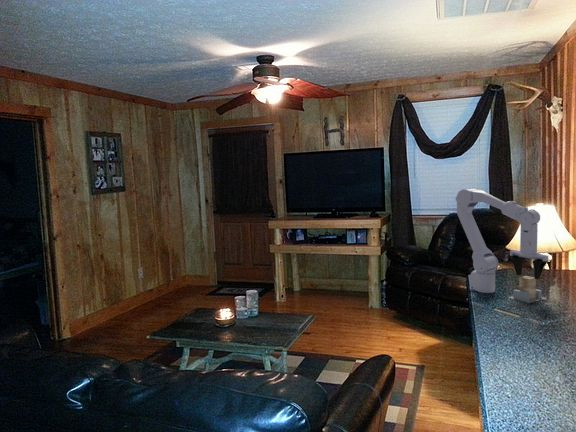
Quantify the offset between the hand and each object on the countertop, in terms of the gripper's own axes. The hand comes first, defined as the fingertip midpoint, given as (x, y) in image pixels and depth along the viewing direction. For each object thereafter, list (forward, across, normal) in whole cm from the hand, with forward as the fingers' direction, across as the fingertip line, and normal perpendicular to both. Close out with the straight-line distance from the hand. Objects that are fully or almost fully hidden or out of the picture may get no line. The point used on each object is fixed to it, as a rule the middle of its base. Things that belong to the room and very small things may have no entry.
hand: (528, 276), depth 174 cm
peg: (+8, 0, 0) cm, 8 cm away
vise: (+9, 0, 0) cm, 9 cm away
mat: (+9, +7, -14) cm, 18 cm away
